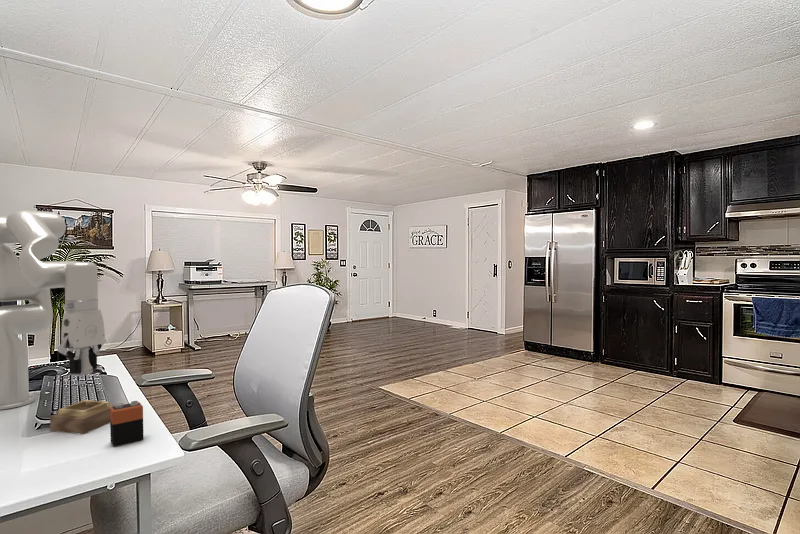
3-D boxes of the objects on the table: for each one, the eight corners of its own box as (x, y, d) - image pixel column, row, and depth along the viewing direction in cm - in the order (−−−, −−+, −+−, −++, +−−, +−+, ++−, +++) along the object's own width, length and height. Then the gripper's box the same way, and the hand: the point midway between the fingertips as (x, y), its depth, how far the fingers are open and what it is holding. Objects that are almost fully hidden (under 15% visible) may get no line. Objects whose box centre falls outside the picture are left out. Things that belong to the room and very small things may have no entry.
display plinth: (50, 430, 124) (49, 410, 124) (85, 416, 135) (85, 398, 135) (83, 434, 122) (83, 413, 122) (117, 419, 133) (117, 400, 132)
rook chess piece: (89, 370, 131) (88, 343, 131) (96, 373, 128) (95, 345, 128) (71, 374, 127) (70, 345, 127) (77, 376, 125) (76, 347, 125)
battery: (110, 442, 117) (109, 403, 116) (140, 435, 121) (139, 397, 121) (113, 447, 113) (112, 407, 113) (143, 440, 118) (143, 401, 118)
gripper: (65, 310, 118) (67, 380, 119) (117, 303, 135) (119, 364, 135) (41, 309, 120) (43, 378, 120) (96, 302, 136) (98, 363, 137)
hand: (83, 370), depth 128 cm, fingers closed on rook chess piece, 4 cm apart
